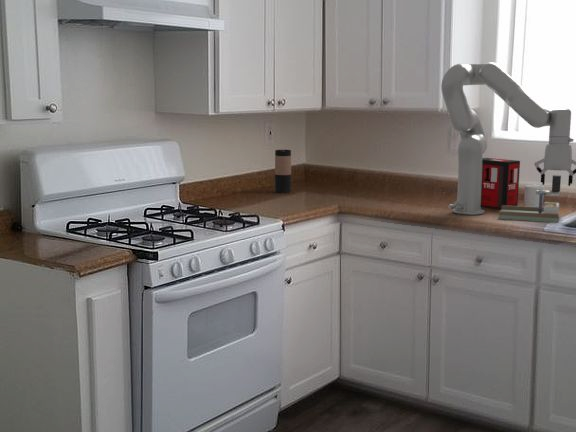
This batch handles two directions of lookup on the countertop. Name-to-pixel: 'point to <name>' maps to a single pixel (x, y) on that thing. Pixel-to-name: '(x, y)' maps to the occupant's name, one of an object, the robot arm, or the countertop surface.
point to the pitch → (526, 214)
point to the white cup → (532, 195)
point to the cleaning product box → (499, 183)
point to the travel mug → (282, 171)
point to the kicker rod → (554, 192)
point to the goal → (551, 208)
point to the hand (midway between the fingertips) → (556, 185)
